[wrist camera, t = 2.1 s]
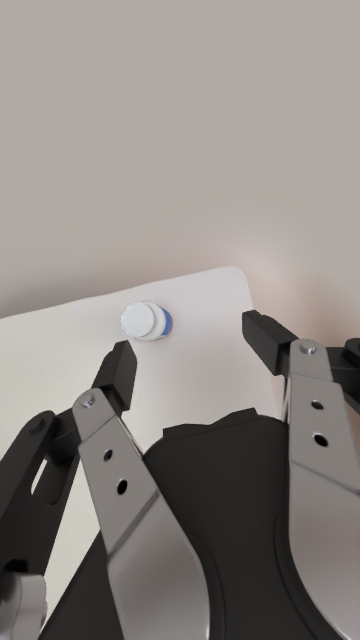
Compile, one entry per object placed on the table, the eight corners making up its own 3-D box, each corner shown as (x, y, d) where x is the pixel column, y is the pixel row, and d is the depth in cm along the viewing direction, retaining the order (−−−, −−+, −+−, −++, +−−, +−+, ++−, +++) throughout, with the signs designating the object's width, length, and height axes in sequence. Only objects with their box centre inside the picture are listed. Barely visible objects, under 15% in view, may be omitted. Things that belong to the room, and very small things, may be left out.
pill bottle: (160, 302, 28) (143, 286, 18) (179, 326, 27) (171, 323, 18) (136, 321, 28) (105, 314, 18) (153, 345, 27) (131, 353, 18)
